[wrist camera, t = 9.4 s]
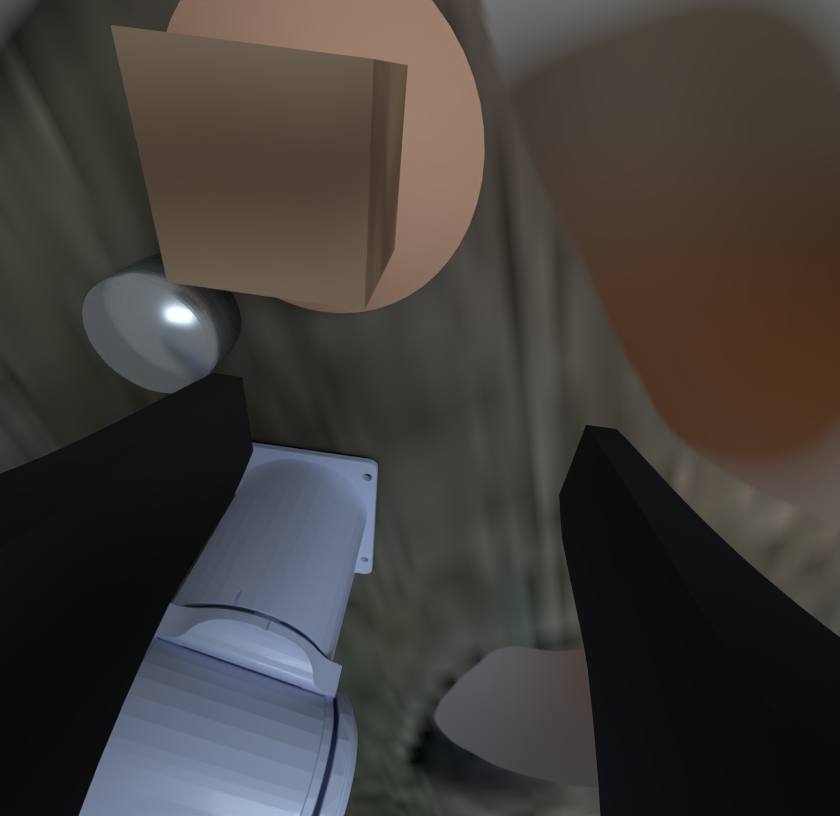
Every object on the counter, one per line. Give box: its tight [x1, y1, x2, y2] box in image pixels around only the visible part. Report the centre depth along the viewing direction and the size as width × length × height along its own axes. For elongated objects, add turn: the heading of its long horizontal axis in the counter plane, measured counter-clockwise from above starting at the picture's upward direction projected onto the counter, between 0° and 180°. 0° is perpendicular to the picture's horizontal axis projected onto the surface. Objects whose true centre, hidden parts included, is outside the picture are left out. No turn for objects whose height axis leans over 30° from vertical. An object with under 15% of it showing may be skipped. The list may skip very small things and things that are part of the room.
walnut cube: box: [111, 25, 408, 310], centre depth 12 cm, size 5×5×5 cm
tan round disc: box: [167, 0, 484, 313], centre depth 15 cm, size 10×10×2 cm
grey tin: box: [82, 253, 241, 393], centre depth 19 cm, size 5×5×3 cm
